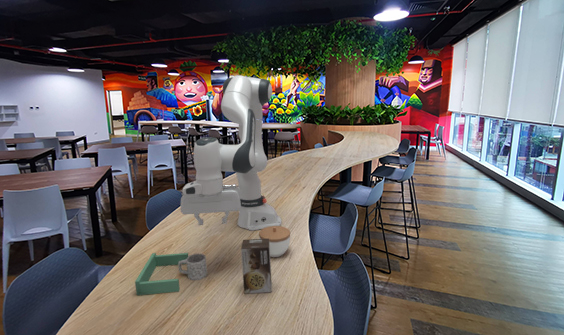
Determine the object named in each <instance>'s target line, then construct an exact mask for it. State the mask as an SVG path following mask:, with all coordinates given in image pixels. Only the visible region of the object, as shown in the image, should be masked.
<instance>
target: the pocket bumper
mask: <svg viewBox="0 0 564 335" xmlns="http://www.w3.org/2000/svg"><path fill="white" fill-rule="evenodd" d="M189 256H190V255H189V252H183V253H182V252H179V253H170V254H169V253H167V254H166V253H165V254H157V253H156V252H152V254H151V255H150V257H149V259H148V260H147V261H146V263H145V265H143V266H144V267H143V268H142V270H141V271H140V273H139V274H138V276H137V277H136V279H135V281H134V286H135V291H136V292H135V293H136V296H145V295H146V296H147V295H156V294H165V293H175V292H176V293H177V292H178V293H179V292H180V290H181V289H180V281H179V278H171V279H169V278H167V279H159V280H150V279H151V277H152V276H153V273H154V272H155V269H156V268H157V267H164V266H176V265H177V266H178V263H179V261H182V260H186V259H187V258H188V257H189ZM181 265H185V264H184V263H182V264H181Z"/></svg>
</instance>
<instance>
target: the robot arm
mask: <svg viewBox="0 0 564 335" xmlns="http://www.w3.org/2000/svg"><path fill="white" fill-rule="evenodd" d="M222 94H223V97H222V99H221V104H220V109H221V112H222V114H223V116H224V117H225V118H226V119H227V120H229V121H230V122H232V123H234V124H237V125H238V130H237V132H238V134H237V135H238V136H239V139H240V143H239V144H222V143H220V142H219V140H218V138H216V137H214V136H212V137H211V136H206V137H201V138H199V139H197V140H196V141H195V143H194V147H193V162H194V164H193V165H194V168H195V172H196V174H195V180H194V181H191V182H188V183H186V184H185V185H184V186H183V188H182V189H181V190H182V196H181V198H180V212H181V214H182V215H194V216H193V217H194V218H195V220H196V221H197V222H198V224H197V225H198V226H203V225H204V218H201V216H200V214H214V213H224V217H222V218H221V223H222V224H227V223H228V222H227V221H228V220H227V219H228V218H229V215H230V212H238V219H237V223H236V224H237V226H238V227H240V228H242V229H247V231H257V230H259V231H260V230H262V229H263V228H266V227H269V226H281V225H282V222H283V221H282V218H281V217H280V215H278V213H277V211H276V209H275V208H274V207H273V206H272V205H271V204H269V203H268V202H267V201H268V200H267V198H266V197H265V196H264V195H262V186H261V185H262V184H261V182H262V181H261V179H260V177H259V174H258V173H260V172H263V171H264V170H265V169H266V167H267V165H268V157H267V155H266V154H265V150H264V146H263V139H262V138H263V136H262V133H263V132H262V131H263V129H262V128H263V114H264V113H263V106H265V104H267V103H268V102H270V101H271V97H272V95H273V86H272V83H271V81H270V80H269V79H265V78H258V77H252V76H244V75H235V76H233V77H227V78H226V79H225V80H224V81H223V84H222ZM222 172H228V173H229V172H231V173H235V175H236V179H237V184H224V178H223V174H222Z"/></svg>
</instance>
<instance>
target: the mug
mask: <svg viewBox="0 0 564 335" xmlns="http://www.w3.org/2000/svg"><path fill="white" fill-rule="evenodd" d="M206 257H207V256H206V254H204V253H193V254H191V255H189V257H188V258H187V259H186V260H182V261H179V263H178V265H177V266H178V271H179V273H180V274H184V275H187V278H188V279H189V280H190V281H200V280H202V279H204V278H206V276H208V268H207V258H206ZM182 263H184V264H182ZM182 265H186V269H182Z"/></svg>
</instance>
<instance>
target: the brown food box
mask: <svg viewBox="0 0 564 335" xmlns="http://www.w3.org/2000/svg"><path fill="white" fill-rule="evenodd" d="M240 247H241V248H240V252H241V255H240V256H241V267H242V277H243V278H242V280H243V293H244V294H256V293H257V294H259V293H260V294H261V293H272V290H273V287H272V286H273V285H272V266H271V265H272V264H271V262H272V261H271V257H270V242H269V238H268V239H260V238H251V239H250V238H249V239H242V243H241V246H240Z"/></svg>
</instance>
